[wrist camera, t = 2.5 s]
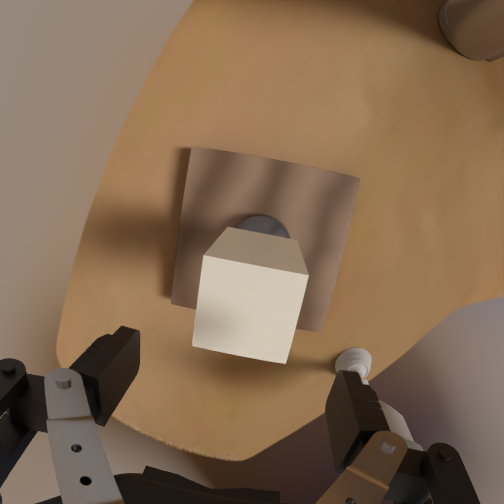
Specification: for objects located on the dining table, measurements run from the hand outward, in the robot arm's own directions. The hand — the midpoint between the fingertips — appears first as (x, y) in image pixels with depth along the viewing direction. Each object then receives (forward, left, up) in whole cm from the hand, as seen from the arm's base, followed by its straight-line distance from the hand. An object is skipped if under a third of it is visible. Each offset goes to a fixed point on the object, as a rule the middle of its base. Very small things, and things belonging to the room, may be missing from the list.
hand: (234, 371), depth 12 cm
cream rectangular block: (0, 0, -15) cm, 15 cm away
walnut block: (0, 0, -25) cm, 25 cm away
